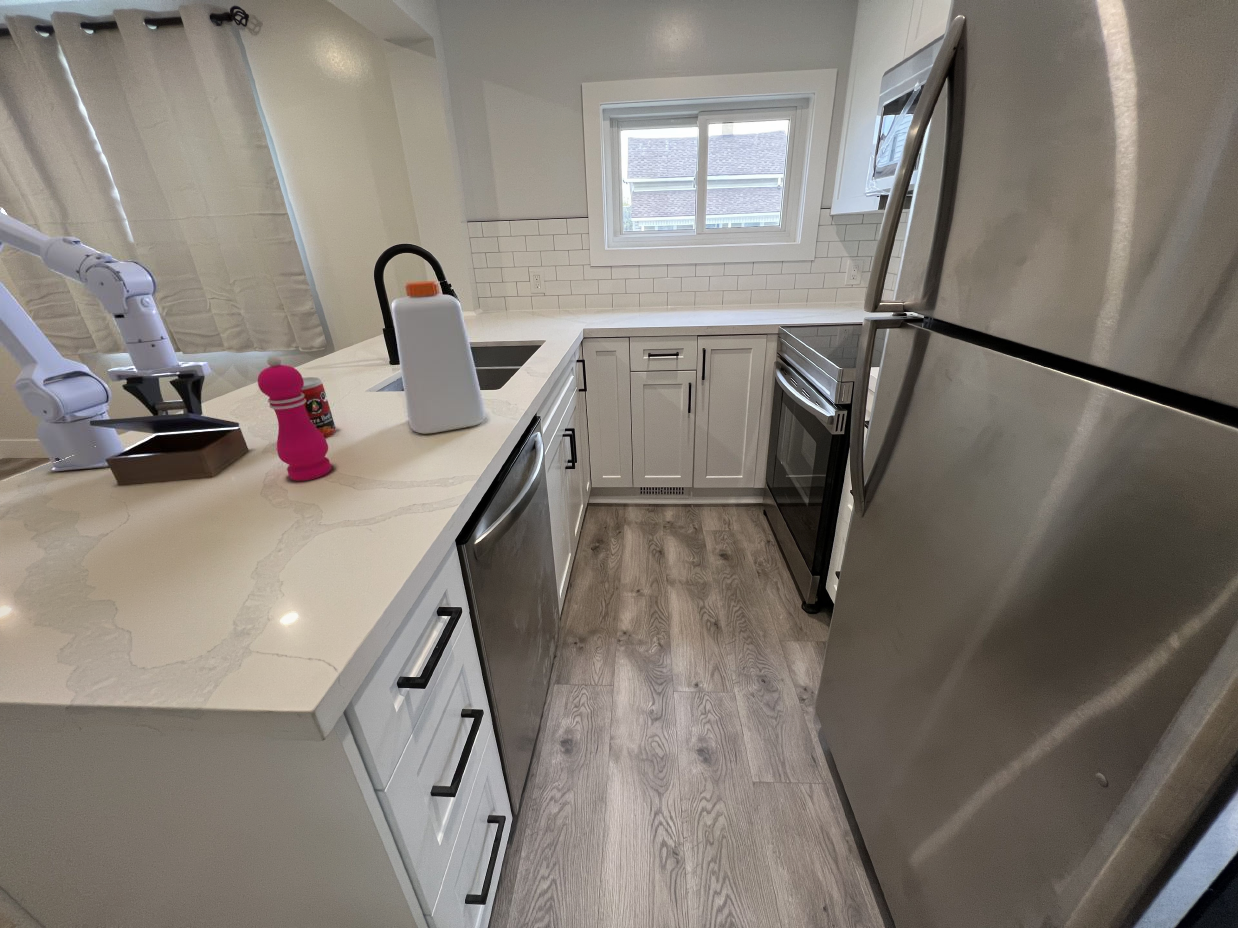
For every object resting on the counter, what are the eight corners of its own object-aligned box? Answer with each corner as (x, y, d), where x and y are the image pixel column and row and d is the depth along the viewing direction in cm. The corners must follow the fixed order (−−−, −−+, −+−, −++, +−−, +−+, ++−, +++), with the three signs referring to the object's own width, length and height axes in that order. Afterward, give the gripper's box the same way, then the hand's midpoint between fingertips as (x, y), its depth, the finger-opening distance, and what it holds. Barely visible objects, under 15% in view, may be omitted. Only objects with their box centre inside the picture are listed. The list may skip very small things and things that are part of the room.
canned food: (304, 444, 97) (286, 390, 92) (287, 436, 101) (269, 384, 97) (344, 432, 102) (328, 380, 98) (326, 425, 107) (310, 375, 102)
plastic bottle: (408, 416, 110) (377, 282, 98) (477, 405, 115) (456, 277, 104) (413, 438, 97) (379, 288, 86) (490, 425, 103) (468, 281, 91)
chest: (212, 476, 85) (201, 451, 83) (118, 485, 83) (105, 459, 81) (249, 450, 95) (240, 427, 93) (165, 457, 93) (154, 433, 91)
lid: (189, 417, 80) (187, 389, 81) (89, 425, 79) (88, 396, 79) (239, 427, 93) (237, 402, 93) (154, 433, 91) (152, 409, 91)
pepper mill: (313, 483, 81) (272, 361, 72) (276, 481, 82) (231, 361, 74) (344, 465, 87) (310, 350, 79) (309, 463, 88) (271, 350, 80)
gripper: (78, 347, 78) (117, 428, 84) (178, 341, 80) (210, 421, 85) (113, 339, 84) (147, 415, 90) (205, 334, 86) (233, 408, 92)
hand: (179, 417), depth 88 cm, fingers closed on lid, 5 cm apart
